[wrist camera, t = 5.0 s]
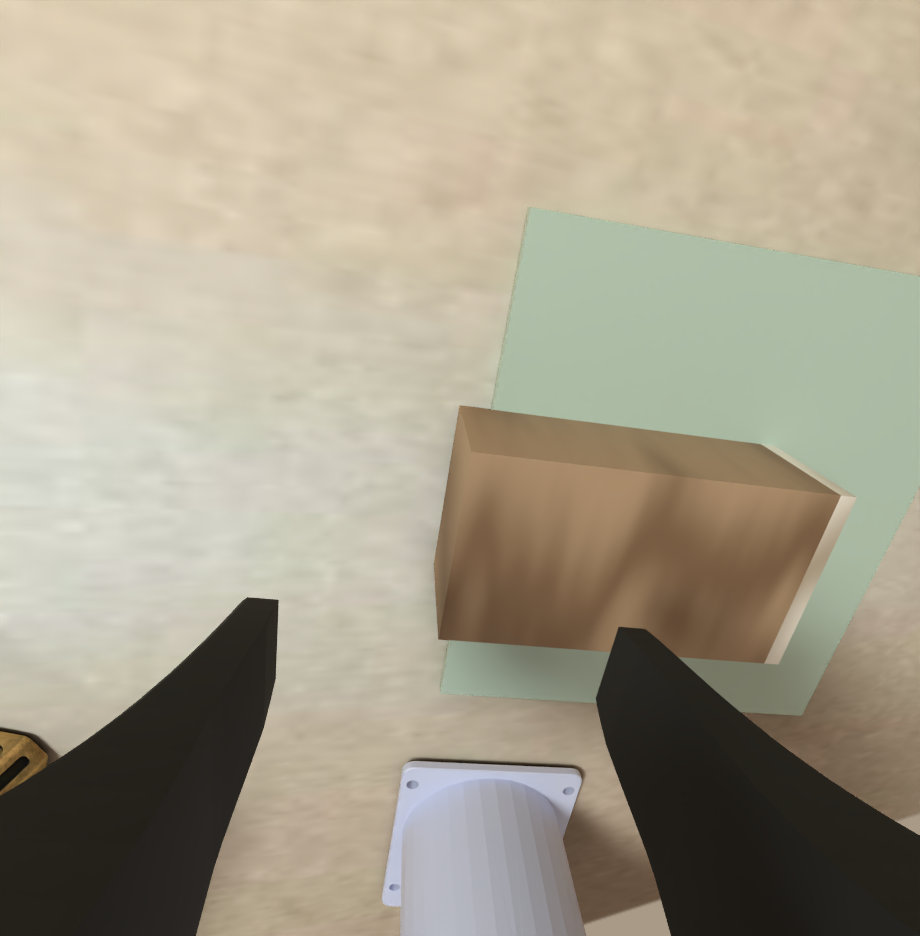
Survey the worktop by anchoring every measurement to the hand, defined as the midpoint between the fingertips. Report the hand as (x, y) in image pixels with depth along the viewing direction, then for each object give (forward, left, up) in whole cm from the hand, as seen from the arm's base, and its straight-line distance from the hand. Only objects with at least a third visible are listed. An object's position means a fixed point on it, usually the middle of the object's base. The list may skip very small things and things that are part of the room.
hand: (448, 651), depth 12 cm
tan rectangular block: (0, 0, -6) cm, 6 cm away
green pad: (0, -9, -8) cm, 13 cm away
